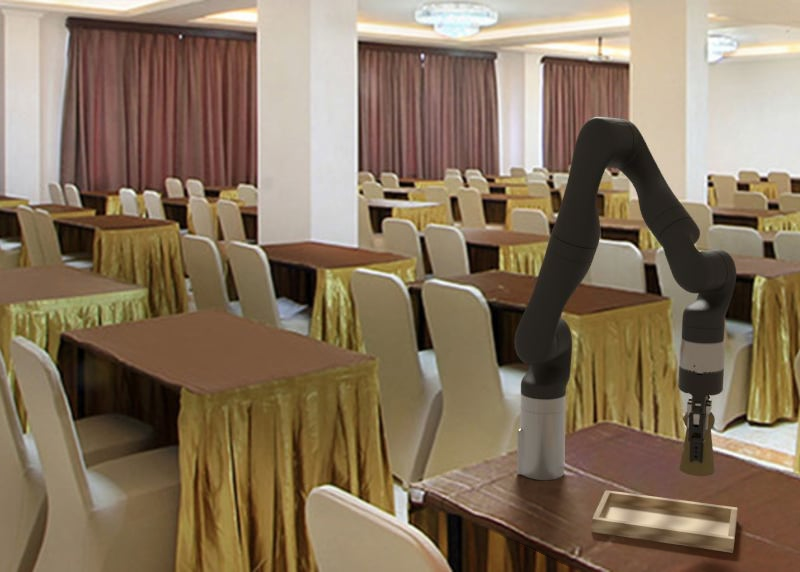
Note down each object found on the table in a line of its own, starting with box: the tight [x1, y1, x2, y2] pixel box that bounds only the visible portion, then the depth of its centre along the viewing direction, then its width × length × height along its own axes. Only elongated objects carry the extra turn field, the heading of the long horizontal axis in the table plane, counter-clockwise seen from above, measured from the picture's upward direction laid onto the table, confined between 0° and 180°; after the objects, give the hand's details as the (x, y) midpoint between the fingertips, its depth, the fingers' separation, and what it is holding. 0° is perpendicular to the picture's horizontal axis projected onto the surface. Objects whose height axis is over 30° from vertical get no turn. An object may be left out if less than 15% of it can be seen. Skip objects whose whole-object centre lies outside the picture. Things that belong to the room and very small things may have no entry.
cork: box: [678, 411, 716, 477], centre depth 169 cm, size 6×6×11 cm
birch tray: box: [591, 489, 738, 554], centre depth 173 cm, size 24×14×2 cm, turn 69°
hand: (697, 457), depth 169 cm, fingers closed on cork, 4 cm apart
